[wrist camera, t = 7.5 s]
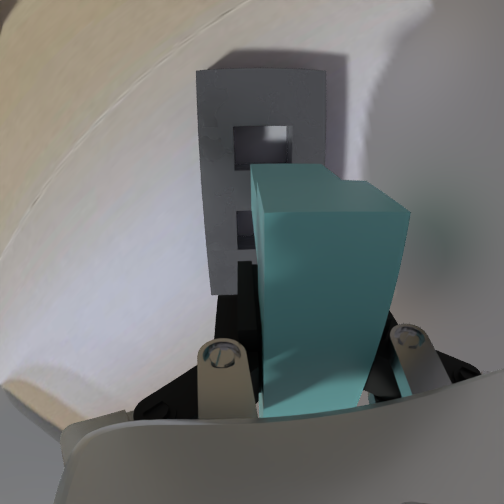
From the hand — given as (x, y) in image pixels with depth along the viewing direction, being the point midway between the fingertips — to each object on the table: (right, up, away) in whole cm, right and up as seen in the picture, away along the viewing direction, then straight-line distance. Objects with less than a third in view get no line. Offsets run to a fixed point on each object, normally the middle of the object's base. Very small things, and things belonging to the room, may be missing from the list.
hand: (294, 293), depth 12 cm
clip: (0, +1, +3) cm, 3 cm away
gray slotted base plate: (-1, +8, +16) cm, 17 cm away
